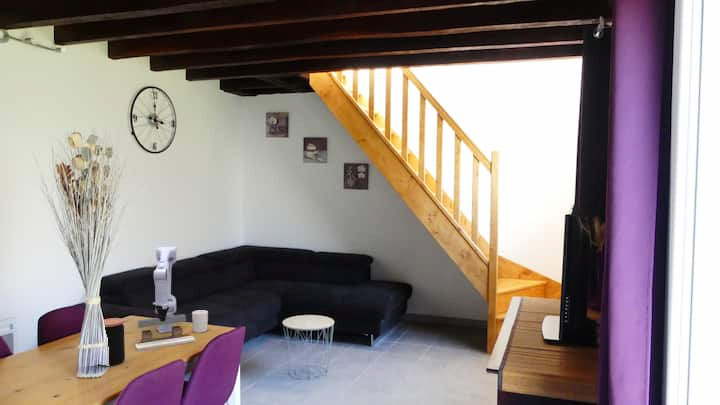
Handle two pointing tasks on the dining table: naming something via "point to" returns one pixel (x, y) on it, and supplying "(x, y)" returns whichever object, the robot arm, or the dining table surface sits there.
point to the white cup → (200, 321)
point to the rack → (148, 337)
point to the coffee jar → (115, 340)
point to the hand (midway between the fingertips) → (162, 320)
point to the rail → (157, 321)
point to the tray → (164, 343)
